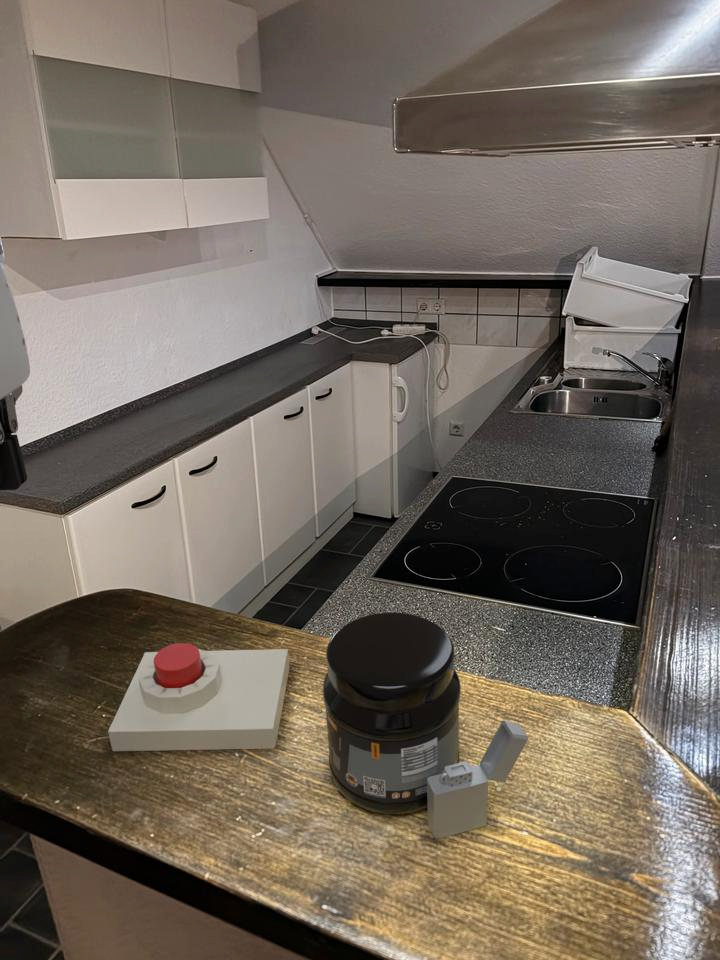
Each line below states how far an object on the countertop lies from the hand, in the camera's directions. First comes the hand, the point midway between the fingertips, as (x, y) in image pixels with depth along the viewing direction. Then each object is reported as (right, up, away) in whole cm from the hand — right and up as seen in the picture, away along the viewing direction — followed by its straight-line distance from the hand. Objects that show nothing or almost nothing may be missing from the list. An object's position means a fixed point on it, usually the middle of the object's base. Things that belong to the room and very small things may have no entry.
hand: (4, 485), depth 60 cm
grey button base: (+14, -20, +10) cm, 27 cm away
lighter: (+37, -25, -3) cm, 44 cm away
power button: (+12, -17, +8) cm, 22 cm away
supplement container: (+31, -23, +2) cm, 39 cm away
